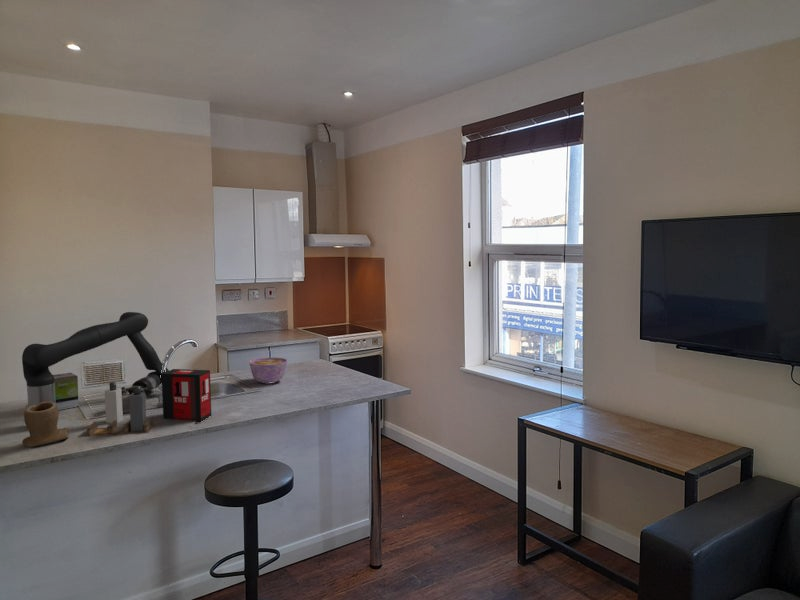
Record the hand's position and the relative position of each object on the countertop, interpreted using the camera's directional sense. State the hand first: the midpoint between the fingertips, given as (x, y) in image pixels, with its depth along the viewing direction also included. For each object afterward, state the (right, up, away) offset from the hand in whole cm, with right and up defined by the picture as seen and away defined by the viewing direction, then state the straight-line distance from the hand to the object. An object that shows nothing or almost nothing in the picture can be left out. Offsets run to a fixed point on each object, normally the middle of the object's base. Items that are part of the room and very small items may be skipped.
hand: (127, 395), depth 230 cm
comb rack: (+9, -10, -22) cm, 26 cm away
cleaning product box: (+27, -9, -4) cm, 29 cm away
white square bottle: (0, -9, -11) cm, 14 cm away
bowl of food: (+46, -3, +59) cm, 75 cm away
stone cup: (-13, -12, -32) cm, 37 cm away
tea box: (-37, -8, +10) cm, 39 cm away
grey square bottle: (+15, -9, -21) cm, 27 cm away
